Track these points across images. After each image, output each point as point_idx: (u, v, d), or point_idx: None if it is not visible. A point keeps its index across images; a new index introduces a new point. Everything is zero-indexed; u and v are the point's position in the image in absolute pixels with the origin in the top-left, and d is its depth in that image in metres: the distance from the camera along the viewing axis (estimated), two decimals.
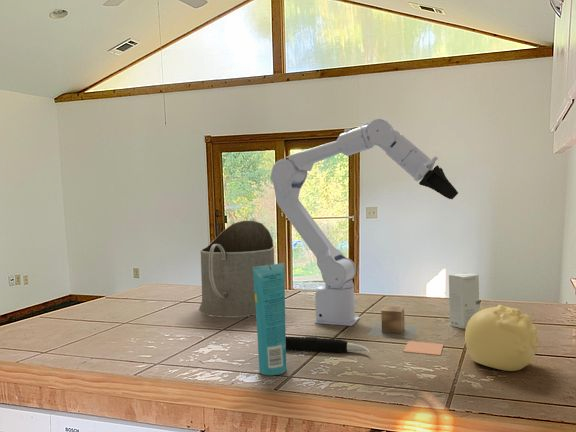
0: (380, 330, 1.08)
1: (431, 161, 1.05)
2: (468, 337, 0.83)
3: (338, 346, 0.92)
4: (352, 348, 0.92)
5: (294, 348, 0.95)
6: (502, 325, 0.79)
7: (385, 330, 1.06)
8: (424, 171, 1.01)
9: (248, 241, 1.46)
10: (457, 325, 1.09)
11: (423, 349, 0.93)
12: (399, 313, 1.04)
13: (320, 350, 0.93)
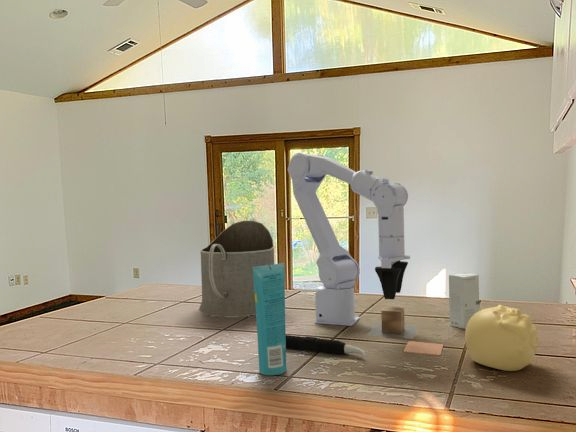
0: (380, 330, 1.08)
1: (401, 258, 1.04)
2: (468, 337, 0.83)
3: (335, 347, 0.91)
4: (349, 350, 0.91)
5: (294, 347, 0.95)
6: (502, 325, 0.79)
7: (385, 330, 1.06)
8: (386, 266, 1.00)
9: (248, 241, 1.46)
10: (457, 325, 1.09)
11: (423, 349, 0.93)
12: (399, 313, 1.04)
13: (318, 350, 0.93)
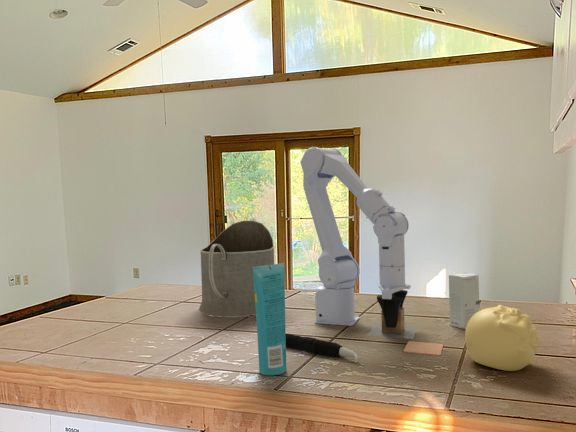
0: (380, 330, 1.08)
1: (402, 288, 1.04)
2: (468, 337, 0.83)
3: (330, 349, 0.90)
4: (344, 353, 0.89)
5: (294, 346, 0.96)
6: (502, 325, 0.79)
7: (385, 330, 1.06)
8: (386, 297, 1.00)
9: (248, 241, 1.46)
10: (457, 325, 1.09)
11: (423, 349, 0.93)
12: (399, 313, 1.04)
13: (315, 351, 0.93)
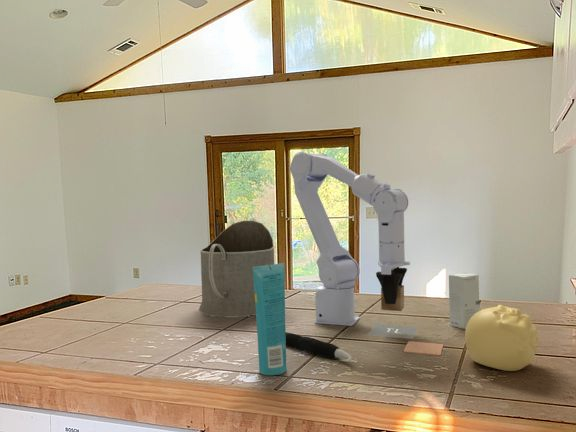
0: (380, 330, 1.08)
1: (401, 264, 1.04)
2: (468, 337, 0.83)
3: (326, 350, 0.90)
4: (339, 355, 0.88)
5: (294, 346, 0.96)
6: (502, 325, 0.79)
7: (385, 307, 1.06)
8: (385, 272, 1.00)
9: (248, 241, 1.46)
10: (457, 325, 1.09)
11: (423, 349, 0.93)
12: (399, 290, 1.04)
13: (313, 352, 0.92)
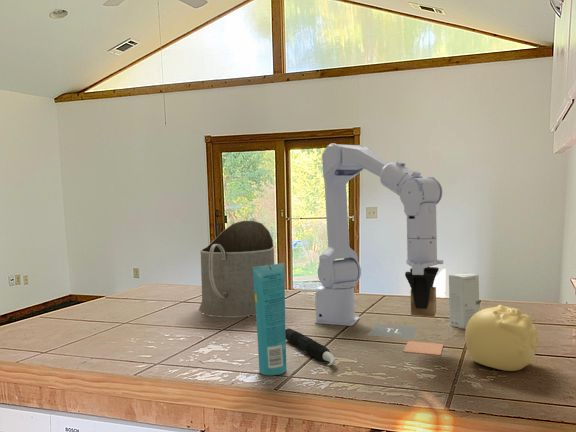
0: (380, 330, 1.08)
1: (434, 263, 0.91)
2: (468, 337, 0.83)
3: (316, 352, 0.89)
4: (326, 358, 0.87)
5: (296, 344, 0.97)
6: (502, 325, 0.79)
7: (415, 312, 0.92)
8: (417, 272, 0.87)
9: (248, 241, 1.46)
10: (457, 325, 1.09)
11: (423, 349, 0.93)
12: (431, 293, 0.91)
13: (308, 352, 0.92)
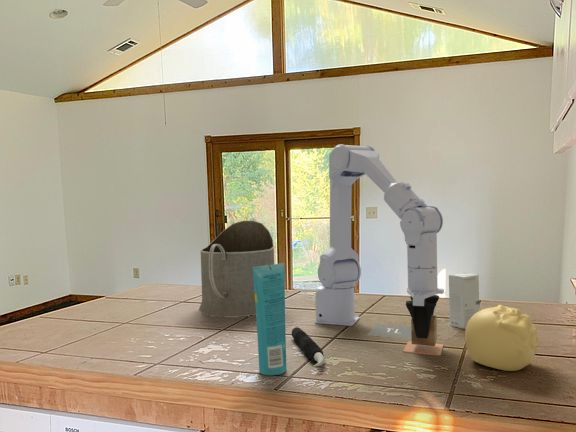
0: (380, 330, 1.08)
1: (434, 293, 0.91)
2: (468, 337, 0.83)
3: (309, 352, 0.89)
4: (316, 359, 0.86)
5: (298, 344, 0.97)
6: (502, 325, 0.79)
7: (415, 341, 0.93)
8: (418, 303, 0.87)
9: (248, 241, 1.46)
10: (457, 325, 1.09)
11: (423, 349, 0.93)
12: (432, 322, 0.91)
13: (305, 352, 0.92)
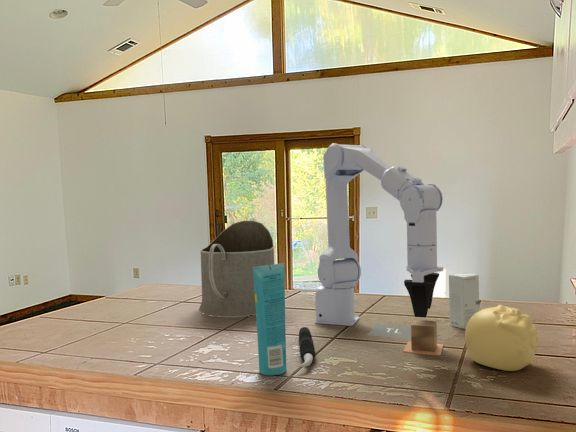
0: (380, 330, 1.08)
1: (434, 270, 0.91)
2: (468, 337, 0.83)
3: (301, 352, 0.89)
4: (304, 359, 0.86)
5: None
6: (502, 325, 0.79)
7: (415, 347, 0.93)
8: (417, 280, 0.87)
9: (248, 241, 1.46)
10: (457, 325, 1.09)
11: None
12: (432, 328, 0.91)
13: None
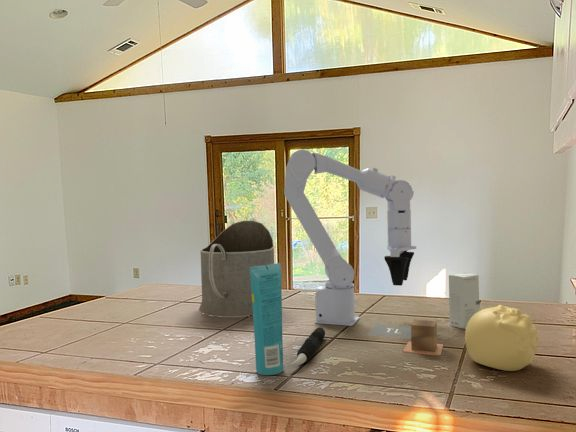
0: (380, 330, 1.08)
1: (408, 248, 1.14)
2: (468, 337, 0.83)
3: (298, 352, 0.89)
4: None
5: None
6: (502, 325, 0.79)
7: (415, 347, 0.93)
8: (394, 255, 1.10)
9: (248, 241, 1.46)
10: (457, 325, 1.09)
11: None
12: (432, 328, 0.91)
13: None
